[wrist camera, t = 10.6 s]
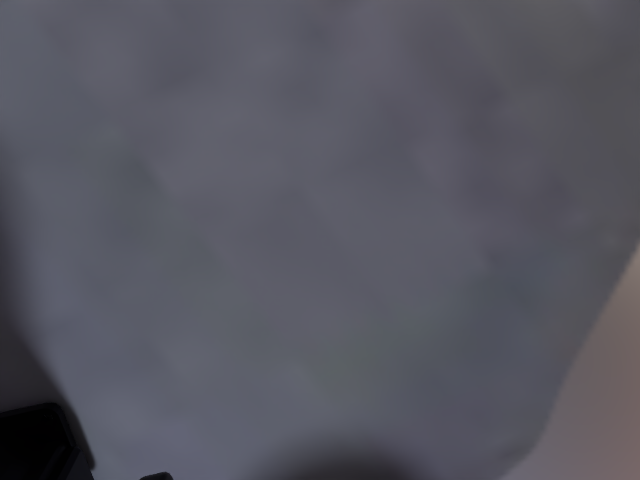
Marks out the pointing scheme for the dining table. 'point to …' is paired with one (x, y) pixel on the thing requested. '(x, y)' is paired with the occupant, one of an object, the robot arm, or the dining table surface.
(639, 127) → the dining table surface
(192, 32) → the dining table surface
